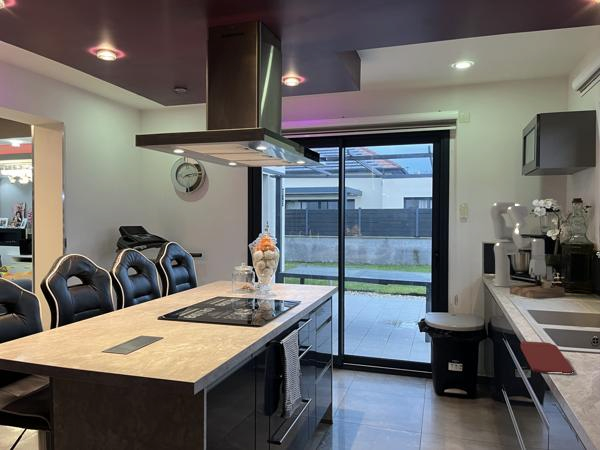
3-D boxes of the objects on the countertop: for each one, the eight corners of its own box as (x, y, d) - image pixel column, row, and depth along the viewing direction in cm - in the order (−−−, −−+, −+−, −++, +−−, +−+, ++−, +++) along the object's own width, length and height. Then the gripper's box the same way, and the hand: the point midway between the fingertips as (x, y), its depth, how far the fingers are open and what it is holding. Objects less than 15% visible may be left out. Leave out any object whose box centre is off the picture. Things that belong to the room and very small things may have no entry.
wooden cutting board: (509, 293, 296) (509, 286, 296) (540, 291, 304) (540, 283, 304) (532, 298, 279) (532, 290, 279) (564, 295, 287) (564, 287, 287)
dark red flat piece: (574, 386, 149) (552, 352, 173) (575, 372, 148) (552, 340, 172) (533, 383, 152) (517, 350, 175) (534, 369, 151) (517, 338, 175)
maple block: (538, 287, 299) (538, 281, 299) (544, 286, 300) (544, 280, 300) (544, 288, 294) (544, 282, 294) (550, 287, 296) (550, 281, 296)
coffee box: (553, 290, 307) (553, 266, 307) (547, 291, 305) (547, 267, 304) (541, 288, 316) (541, 265, 315) (534, 289, 313) (534, 265, 313)
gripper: (542, 256, 302) (542, 284, 302) (524, 257, 297) (524, 285, 297) (551, 257, 295) (551, 286, 295) (533, 258, 290) (533, 287, 290)
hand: (538, 286), depth 296 cm, fingers closed
